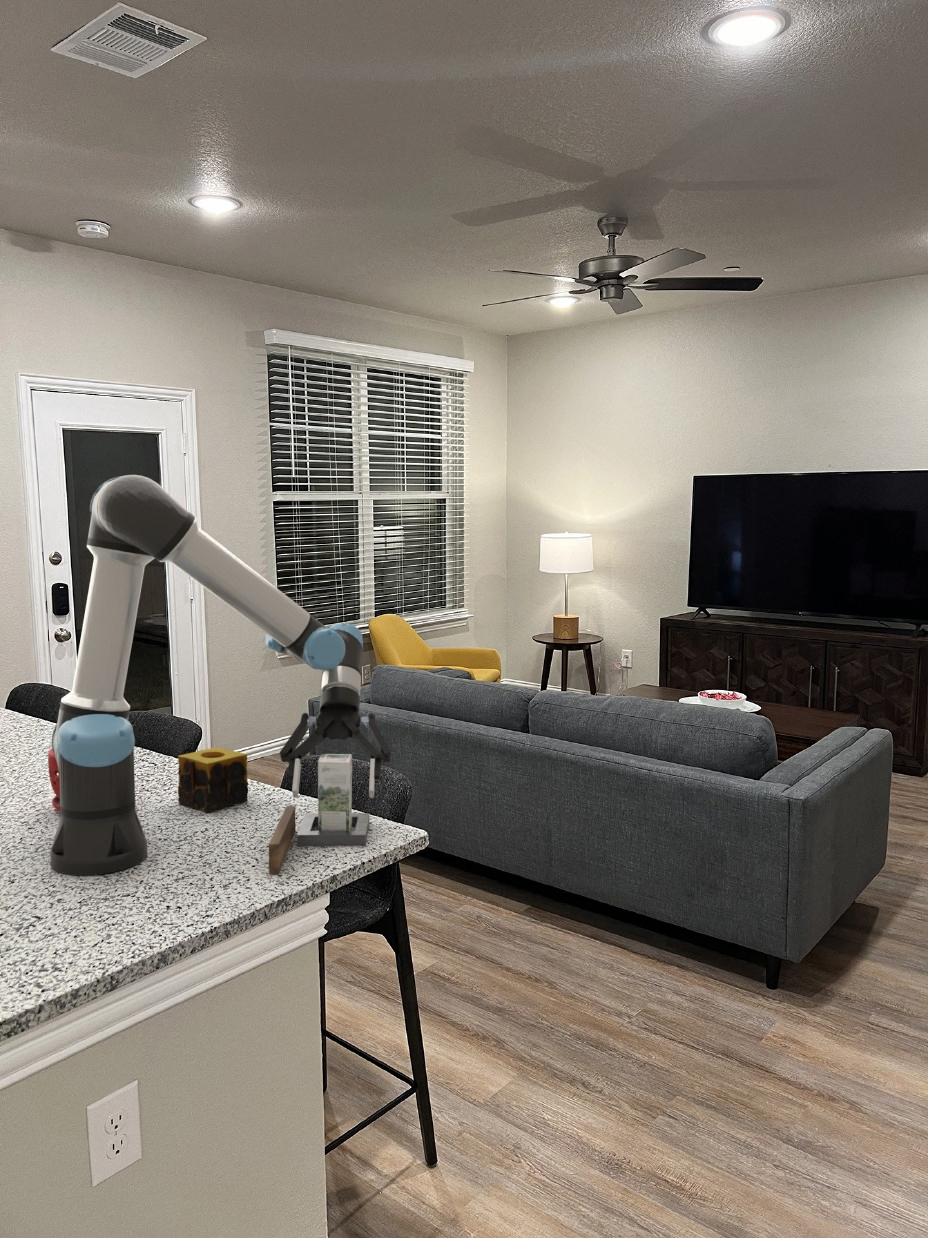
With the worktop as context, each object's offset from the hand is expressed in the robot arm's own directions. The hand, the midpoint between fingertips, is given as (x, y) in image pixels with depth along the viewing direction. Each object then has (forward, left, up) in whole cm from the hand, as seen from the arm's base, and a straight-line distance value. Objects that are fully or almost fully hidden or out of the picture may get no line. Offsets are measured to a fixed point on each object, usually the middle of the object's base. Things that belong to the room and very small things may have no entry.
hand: (333, 794), depth 168 cm
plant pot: (-50, +18, -8) cm, 54 cm away
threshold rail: (-8, -7, -8) cm, 13 cm away
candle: (-26, +21, -8) cm, 35 cm away
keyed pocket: (0, +2, -8) cm, 8 cm away
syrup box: (0, +2, -8) cm, 9 cm away
